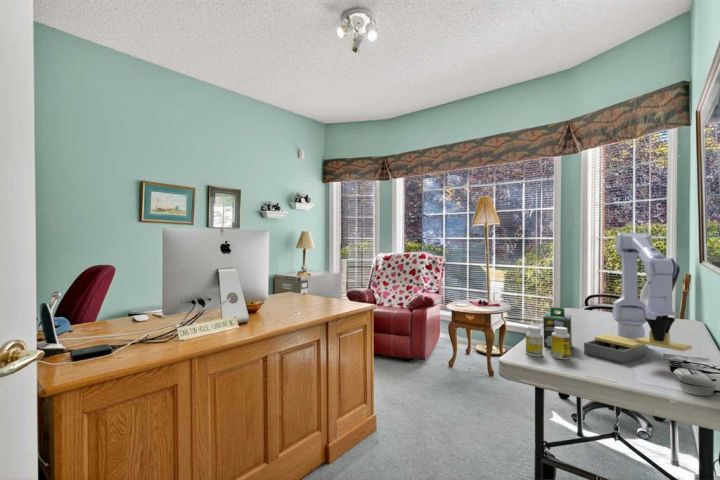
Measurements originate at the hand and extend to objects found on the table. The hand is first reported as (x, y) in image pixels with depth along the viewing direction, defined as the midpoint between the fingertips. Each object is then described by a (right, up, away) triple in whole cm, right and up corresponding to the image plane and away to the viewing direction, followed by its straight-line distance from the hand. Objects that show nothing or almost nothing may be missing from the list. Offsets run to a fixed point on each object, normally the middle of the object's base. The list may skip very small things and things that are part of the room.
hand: (660, 340), depth 108 cm
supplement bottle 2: (-24, -9, +11) cm, 29 cm away
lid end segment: (+2, -2, +1) cm, 3 cm away
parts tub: (-3, -10, +15) cm, 18 cm away
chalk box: (-17, -10, +26) cm, 32 cm away
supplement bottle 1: (-32, -9, +14) cm, 36 cm away
